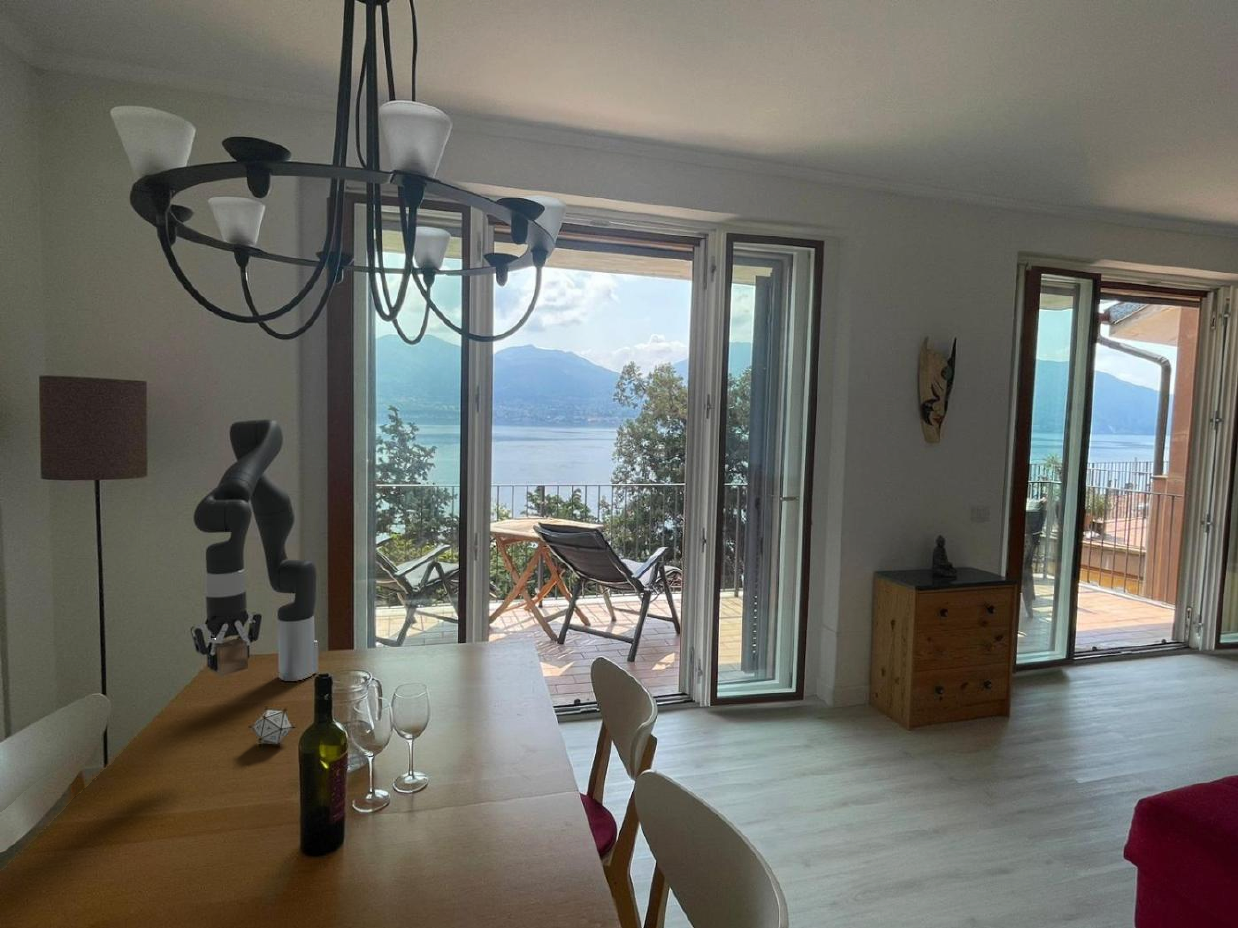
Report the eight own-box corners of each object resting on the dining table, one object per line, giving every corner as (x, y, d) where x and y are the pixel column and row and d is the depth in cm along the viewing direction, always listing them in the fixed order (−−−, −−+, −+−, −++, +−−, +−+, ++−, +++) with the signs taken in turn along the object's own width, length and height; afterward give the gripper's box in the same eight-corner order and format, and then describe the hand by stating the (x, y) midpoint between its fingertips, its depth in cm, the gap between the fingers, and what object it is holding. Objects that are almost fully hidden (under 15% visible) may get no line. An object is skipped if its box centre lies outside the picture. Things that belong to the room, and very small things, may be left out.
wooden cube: (236, 662, 148) (235, 636, 148) (247, 668, 145) (247, 641, 144) (209, 669, 144) (208, 643, 143) (221, 676, 140) (220, 649, 140)
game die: (271, 764, 147) (251, 743, 140) (254, 739, 151) (235, 718, 145) (308, 734, 152) (291, 713, 145) (290, 711, 156) (273, 690, 149)
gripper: (251, 581, 151) (254, 652, 152) (181, 594, 139) (184, 672, 140) (268, 586, 146) (270, 660, 148) (197, 601, 135) (200, 680, 136)
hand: (228, 665), depth 144 cm, fingers closed on wooden cube, 5 cm apart
